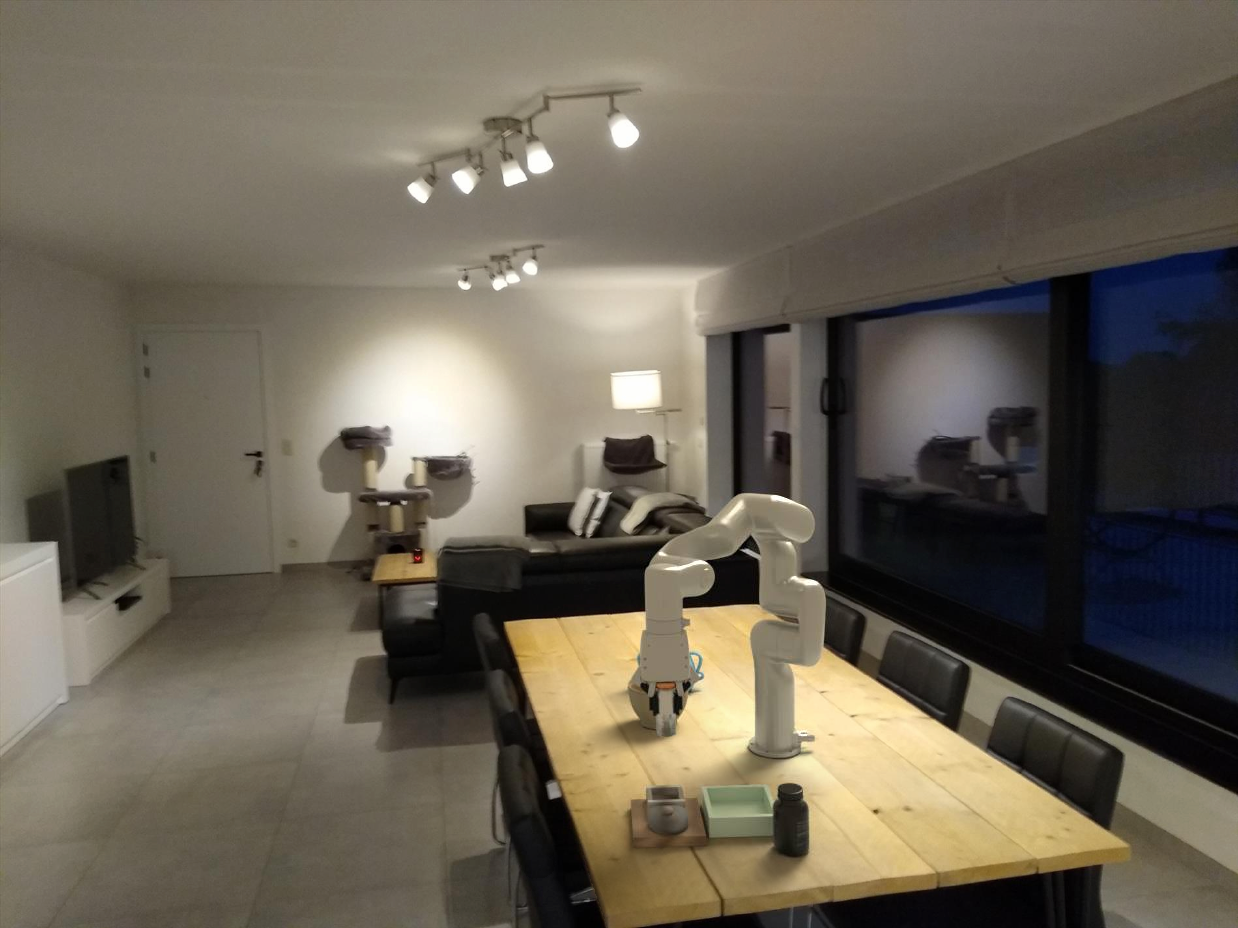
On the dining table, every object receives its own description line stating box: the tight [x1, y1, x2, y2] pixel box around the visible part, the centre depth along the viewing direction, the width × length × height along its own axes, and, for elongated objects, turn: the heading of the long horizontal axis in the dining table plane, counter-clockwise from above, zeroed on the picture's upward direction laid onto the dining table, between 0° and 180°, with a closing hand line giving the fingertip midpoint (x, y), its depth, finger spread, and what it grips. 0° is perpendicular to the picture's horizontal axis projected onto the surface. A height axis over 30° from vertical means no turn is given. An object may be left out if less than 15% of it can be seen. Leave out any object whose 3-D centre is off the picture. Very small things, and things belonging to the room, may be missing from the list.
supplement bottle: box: [772, 782, 810, 858], centre depth 171 cm, size 7×7×12 cm
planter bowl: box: [627, 676, 690, 730], centre depth 235 cm, size 16×16×11 cm
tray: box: [700, 783, 775, 839], centre depth 183 cm, size 14×14×4 cm
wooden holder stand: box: [630, 784, 707, 849], centre depth 180 cm, size 14×16×6 cm
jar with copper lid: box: [655, 682, 677, 738], centre depth 183 cm, size 5×5×11 cm
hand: (665, 712), depth 183 cm, fingers closed on jar with copper lid, 4 cm apart
